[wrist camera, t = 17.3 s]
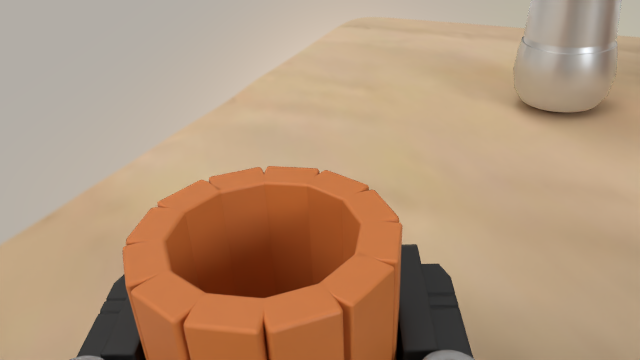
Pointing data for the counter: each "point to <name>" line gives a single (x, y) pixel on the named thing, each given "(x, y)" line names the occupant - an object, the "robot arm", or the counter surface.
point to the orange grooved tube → (267, 269)
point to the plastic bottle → (567, 54)
